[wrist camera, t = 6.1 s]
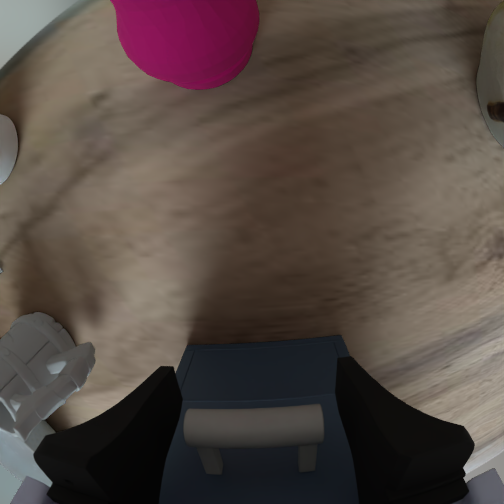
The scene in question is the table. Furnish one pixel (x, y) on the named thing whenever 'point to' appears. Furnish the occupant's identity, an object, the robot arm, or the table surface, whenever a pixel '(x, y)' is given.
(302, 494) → the lid
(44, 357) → the mug
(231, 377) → the compartment
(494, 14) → the sugar bowl
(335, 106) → the table surface
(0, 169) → the cup
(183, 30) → the pepper mill
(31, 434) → the cereal bowl
